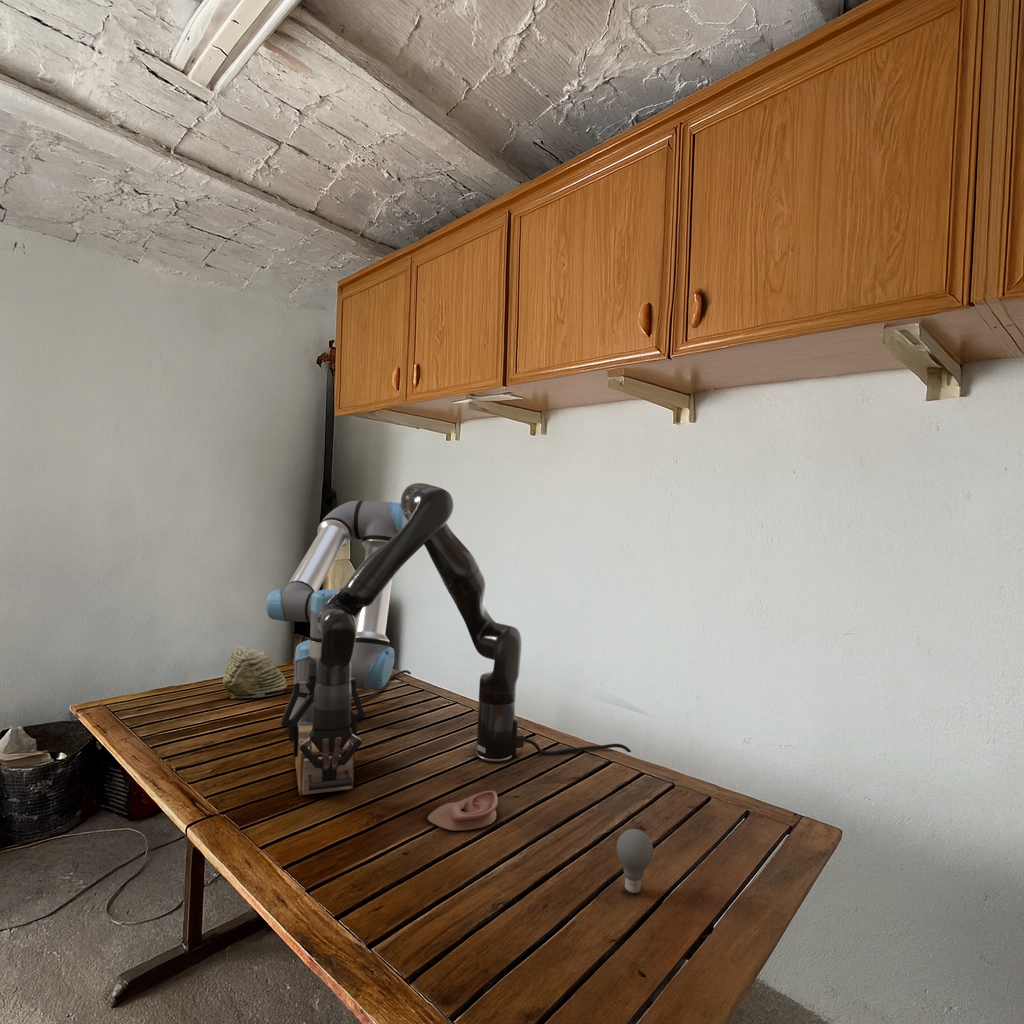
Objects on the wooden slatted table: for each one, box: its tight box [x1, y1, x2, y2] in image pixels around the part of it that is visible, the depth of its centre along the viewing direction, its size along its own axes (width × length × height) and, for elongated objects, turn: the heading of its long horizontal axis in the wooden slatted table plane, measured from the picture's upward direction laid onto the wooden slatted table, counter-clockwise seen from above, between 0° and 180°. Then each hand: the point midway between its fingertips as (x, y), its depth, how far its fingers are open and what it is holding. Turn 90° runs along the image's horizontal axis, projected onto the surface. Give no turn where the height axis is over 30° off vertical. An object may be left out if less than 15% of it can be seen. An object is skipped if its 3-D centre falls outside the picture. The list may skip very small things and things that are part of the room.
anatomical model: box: [427, 790, 499, 832], centre depth 127 cm, size 13×4×12 cm
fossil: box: [222, 646, 288, 699], centre depth 198 cm, size 9×18×15 cm, turn 132°
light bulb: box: [615, 828, 654, 894], centre depth 106 cm, size 6×6×10 cm
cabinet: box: [294, 725, 355, 796], centre depth 143 cm, size 16×11×9 cm
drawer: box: [302, 753, 354, 796], centre depth 138 cm, size 21×10×7 cm, turn 22°
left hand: (322, 751), depth 146 cm, fingers closed on cabinet, 11 cm apart
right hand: (328, 785), depth 131 cm, fingers closed
